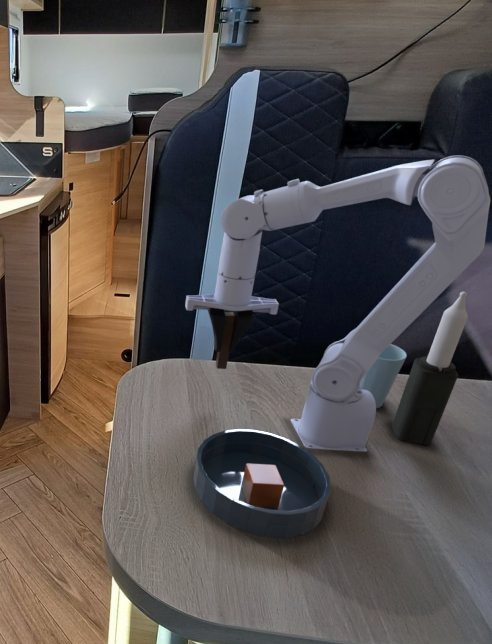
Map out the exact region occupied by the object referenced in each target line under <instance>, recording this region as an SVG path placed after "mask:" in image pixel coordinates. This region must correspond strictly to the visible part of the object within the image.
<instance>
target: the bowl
mask: <svg viewBox="0 0 492 644" xmlns="http://www.w3.org/2000/svg"><path fill="white" fill-rule="evenodd" d="M246 463H249V464H266V465H276V467H277V470H278V472H279V474H280V477H281V479H282V481H283V483H284V488H283V492H282V496H281V500H280V503H279V507H278V508H270V507H255V506H251V505H249V504H247V501H246V498H245V495H244V492H243V489H242V486H241V485H242V480H243V475H244V471H245V466H246ZM192 480H193V481H192V482H193V487H194V491H195V493H196V495H197V497H198V498H199V500H200V502H201V503H202V504H203V505H204V506H205V508H206V509H207V510H208V511H210V512H211V513H212V514H213V515H214V516H216V517H217V518H218V519H219V520H221V521H222V522H224V523H226V524H227V525H229V526H232V527H233V528H235V529H237V530H240V531H242V532H245V533H249V534H251V535H255V536H260V537H265V538H272V539H273V538H274V539H286V538H294V537H298V536H302V535H304V534H307V533H309V532H310V531H312V530H314V529H315V528H316V527H317V526H318V524H320V523H321V521H322V520H323V516H324V514H325V510H326V506H327V504H328V500H329V497H330V494H331V491H332V483H331V478H330V475H329V473H328V471H327V470H326V468H325V465H324V464H323V463H322V462H321V461H320V460H319V459H318V458H317V457H316V456H315V455H314V454H313V453H312V452H310V451H309V450H308V449H307V448H305V447H303V446H302V445H300V444H298V443H297V442H294V441H292V440H290V439H288V438H286V437H283V436H280V435H277V434H275V433H271V432H268V431H262V430H257V429H247V428H236V429H234V428H233V429H227V430H226V429H225V430H222V431H219V432H216V433H213V434H212V435H210V436H208V437H207V438H205V439H204V440H203V441H202V442H201V444H200V445H199V447H198V448H197V452H196V458H195V464H194V470H193V477H192Z"/></svg>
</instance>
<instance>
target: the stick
mask: <svg viewBox="0 0 492 644" xmlns="http://www.w3.org/2000/svg"><path fill="white" fill-rule="evenodd" d="M224 313H225V318H226V320H227V321H226V324H225V328H224V332H223V336H222V346H221V351H220V352H216V358H215V367H216V369H218V370H227V368H228V367H227V366H228V361H229V356H230V352H229V349H230V344H231V338H232V332H233V326H234V321H235V315H234V313H233V312H232V311H224Z"/></svg>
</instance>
